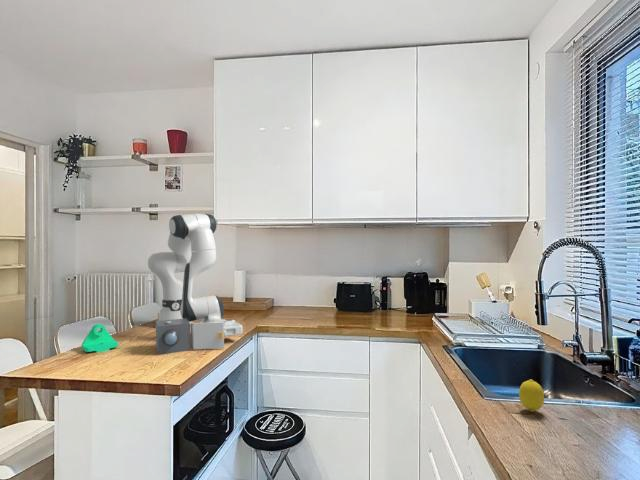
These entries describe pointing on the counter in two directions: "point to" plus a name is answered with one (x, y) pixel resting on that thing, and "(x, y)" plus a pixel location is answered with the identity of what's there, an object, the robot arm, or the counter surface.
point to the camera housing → (172, 336)
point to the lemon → (531, 395)
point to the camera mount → (98, 340)
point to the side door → (207, 335)
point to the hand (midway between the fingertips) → (222, 334)
